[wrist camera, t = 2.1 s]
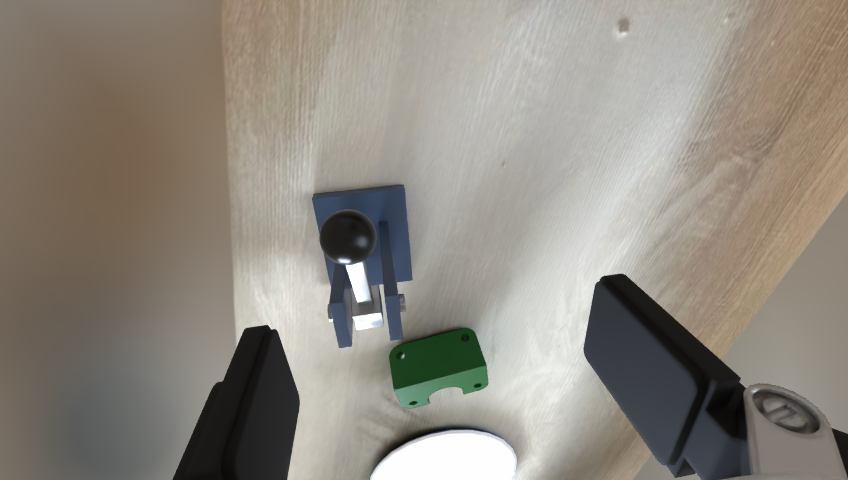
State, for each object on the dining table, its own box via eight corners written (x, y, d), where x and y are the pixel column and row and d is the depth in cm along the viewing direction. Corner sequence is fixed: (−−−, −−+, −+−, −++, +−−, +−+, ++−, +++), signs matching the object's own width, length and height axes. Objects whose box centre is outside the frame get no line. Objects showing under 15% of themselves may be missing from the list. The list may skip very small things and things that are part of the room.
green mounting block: (407, 344, 54) (391, 408, 48) (399, 321, 50) (379, 388, 44) (491, 354, 51) (485, 423, 45) (489, 330, 47) (482, 403, 41)
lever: (313, 201, 21) (313, 249, 19) (371, 194, 21) (376, 241, 19) (348, 299, 32) (350, 335, 30) (386, 294, 32) (390, 330, 30)
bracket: (313, 193, 37) (289, 268, 25) (403, 184, 38) (422, 252, 26) (332, 284, 42) (320, 382, 30) (411, 274, 43) (430, 365, 31)
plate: (534, 476, 68) (537, 483, 67) (413, 529, 70) (414, 537, 69) (481, 401, 56) (483, 408, 55) (338, 468, 58) (337, 476, 57)
